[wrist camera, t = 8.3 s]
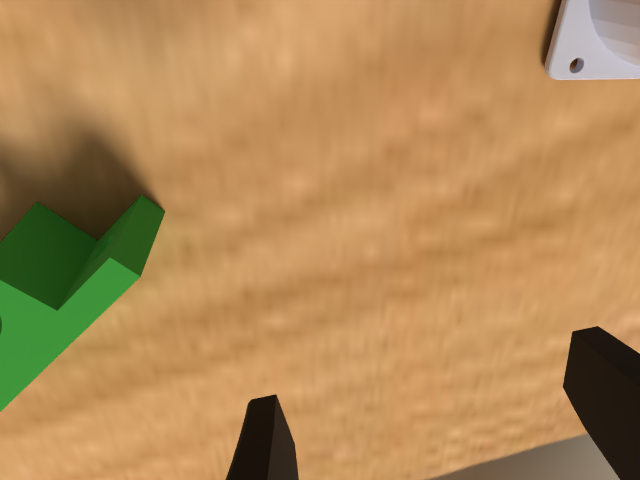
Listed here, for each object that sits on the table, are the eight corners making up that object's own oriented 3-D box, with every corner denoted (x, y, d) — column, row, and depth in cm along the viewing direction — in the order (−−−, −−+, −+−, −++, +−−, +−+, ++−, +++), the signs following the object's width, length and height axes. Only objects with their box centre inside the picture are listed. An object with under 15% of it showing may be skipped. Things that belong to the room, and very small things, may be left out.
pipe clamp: (82, 146, 17) (29, 205, 13) (166, 208, 18) (142, 276, 15) (-62, 318, 20) (-138, 404, 16) (20, 356, 22) (-31, 443, 18)
